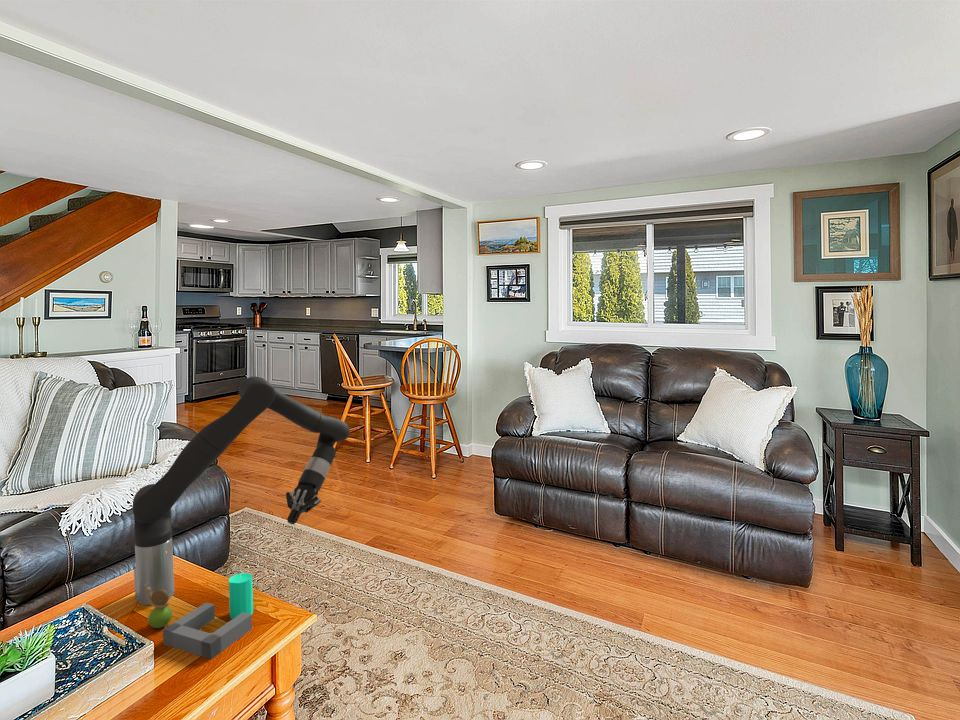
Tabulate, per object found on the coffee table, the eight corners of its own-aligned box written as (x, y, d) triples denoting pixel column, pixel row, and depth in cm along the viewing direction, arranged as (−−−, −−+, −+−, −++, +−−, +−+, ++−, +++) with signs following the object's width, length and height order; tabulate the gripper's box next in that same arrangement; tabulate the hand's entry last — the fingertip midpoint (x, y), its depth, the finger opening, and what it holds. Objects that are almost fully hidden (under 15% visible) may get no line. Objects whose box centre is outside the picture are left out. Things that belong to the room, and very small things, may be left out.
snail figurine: (153, 619, 140) (151, 577, 139) (176, 620, 140) (175, 578, 139) (140, 632, 135) (138, 588, 134) (164, 632, 135) (162, 589, 134)
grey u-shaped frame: (163, 644, 130) (162, 629, 130) (206, 616, 142) (206, 602, 142) (211, 659, 125) (210, 643, 124) (251, 629, 137) (251, 614, 137)
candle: (244, 621, 140) (242, 579, 139) (224, 618, 142) (223, 576, 140) (257, 609, 146) (256, 568, 145) (239, 606, 147) (237, 566, 146)
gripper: (293, 466, 171) (267, 515, 161) (326, 470, 167) (301, 521, 156) (304, 477, 177) (279, 525, 166) (336, 481, 172) (313, 531, 162)
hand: (290, 523), depth 161 cm, fingers closed
